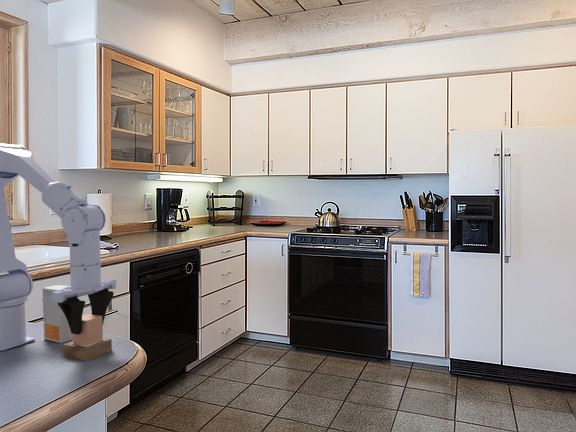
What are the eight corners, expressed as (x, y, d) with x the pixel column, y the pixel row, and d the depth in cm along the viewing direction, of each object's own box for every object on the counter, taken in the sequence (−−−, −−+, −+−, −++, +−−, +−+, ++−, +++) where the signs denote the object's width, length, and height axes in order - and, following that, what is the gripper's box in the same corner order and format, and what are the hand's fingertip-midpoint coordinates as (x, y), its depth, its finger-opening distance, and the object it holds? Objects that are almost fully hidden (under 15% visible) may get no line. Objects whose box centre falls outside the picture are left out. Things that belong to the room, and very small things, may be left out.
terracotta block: (72, 342, 94) (72, 318, 94) (88, 337, 97) (88, 313, 97) (87, 345, 92) (86, 320, 92) (102, 339, 96) (102, 315, 96)
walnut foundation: (63, 356, 93) (63, 343, 93) (89, 346, 99) (88, 334, 99) (86, 361, 91) (86, 348, 91) (111, 350, 97) (111, 338, 97)
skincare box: (43, 339, 104) (41, 287, 104) (60, 334, 108) (58, 284, 107) (60, 343, 101) (58, 290, 101) (77, 338, 105) (75, 286, 104)
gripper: (69, 271, 86) (71, 342, 87) (126, 260, 99) (127, 322, 100) (43, 268, 89) (45, 337, 89) (101, 258, 102) (103, 319, 103)
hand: (87, 329), depth 95 cm, fingers open, 5 cm apart
